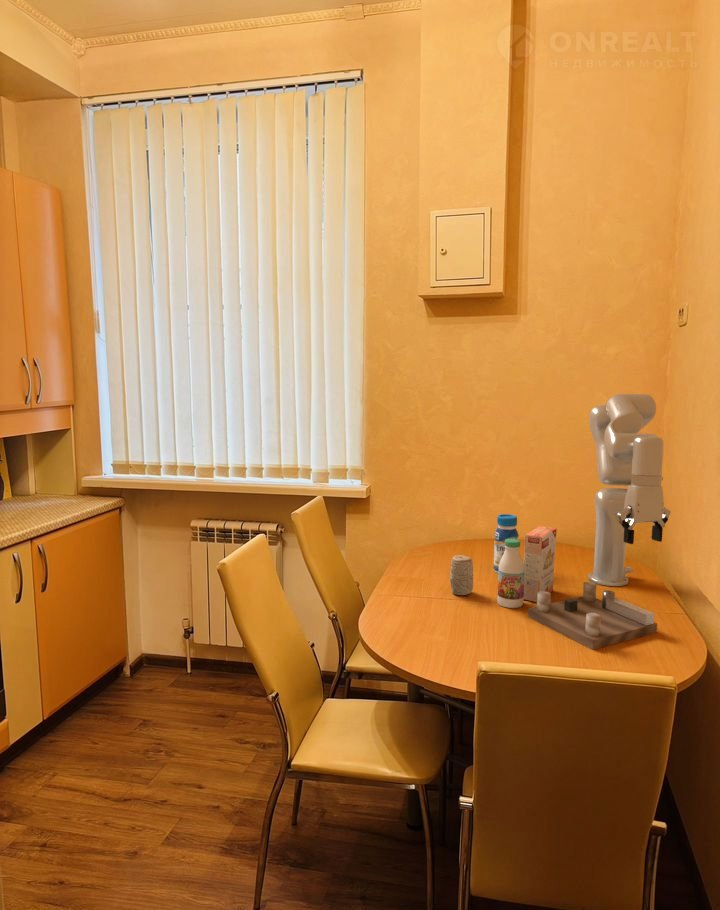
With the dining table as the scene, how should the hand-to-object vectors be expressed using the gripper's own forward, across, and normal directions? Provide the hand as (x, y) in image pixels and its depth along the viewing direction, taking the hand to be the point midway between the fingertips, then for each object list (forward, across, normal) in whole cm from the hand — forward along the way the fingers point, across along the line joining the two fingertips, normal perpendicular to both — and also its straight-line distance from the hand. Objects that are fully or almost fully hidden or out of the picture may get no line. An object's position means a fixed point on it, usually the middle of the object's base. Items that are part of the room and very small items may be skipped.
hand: (642, 541), depth 174 cm
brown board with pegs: (+23, +14, -3) cm, 27 cm away
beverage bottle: (+22, +12, -51) cm, 57 cm away
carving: (+23, +37, -36) cm, 56 cm away
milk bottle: (+23, +27, -24) cm, 43 cm away
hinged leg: (+21, +4, 0) cm, 21 cm away
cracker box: (+23, +14, -27) cm, 38 cm away
